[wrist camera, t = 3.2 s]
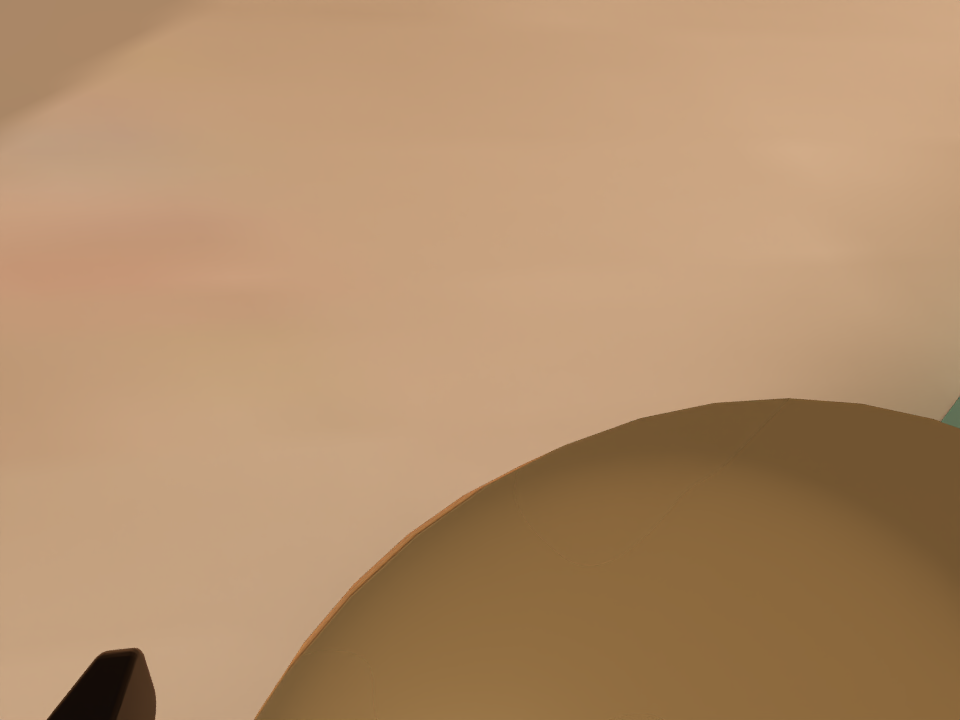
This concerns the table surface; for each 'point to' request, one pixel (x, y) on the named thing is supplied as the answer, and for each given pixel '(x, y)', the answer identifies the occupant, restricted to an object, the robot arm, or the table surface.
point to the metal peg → (669, 581)
